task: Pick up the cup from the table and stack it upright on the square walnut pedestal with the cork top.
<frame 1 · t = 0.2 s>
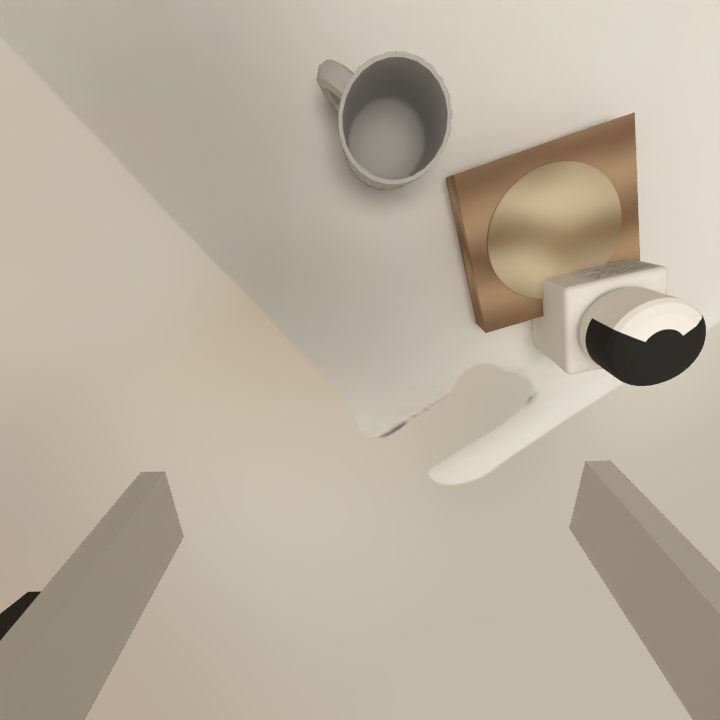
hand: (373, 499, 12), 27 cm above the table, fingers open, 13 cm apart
cup: (373, 132, 32), on the table
pedestal: (537, 232, 34), on the table
container: (568, 301, 37), on the table, touching pedestal
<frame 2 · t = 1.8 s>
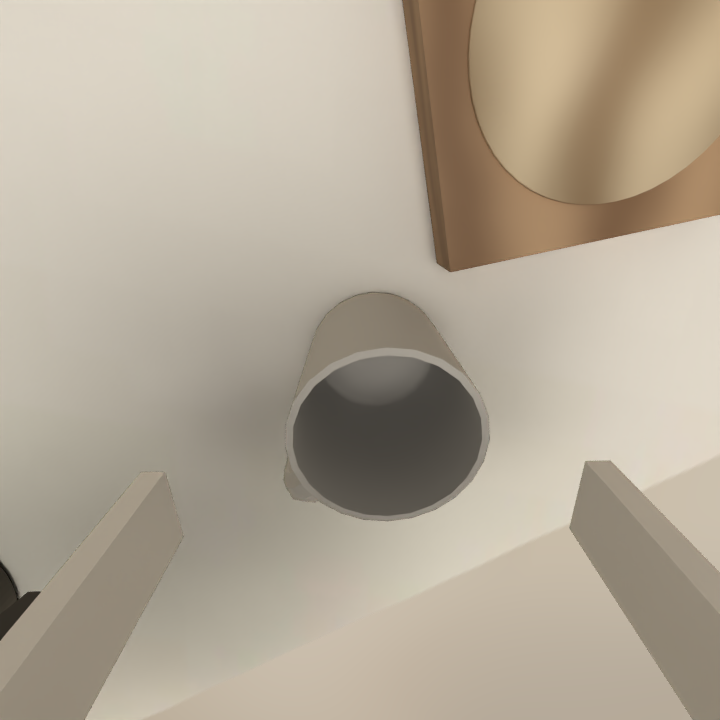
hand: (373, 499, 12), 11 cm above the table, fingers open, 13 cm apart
cup: (358, 367, 22), on the table
pedestal: (573, 70, 16), on the table
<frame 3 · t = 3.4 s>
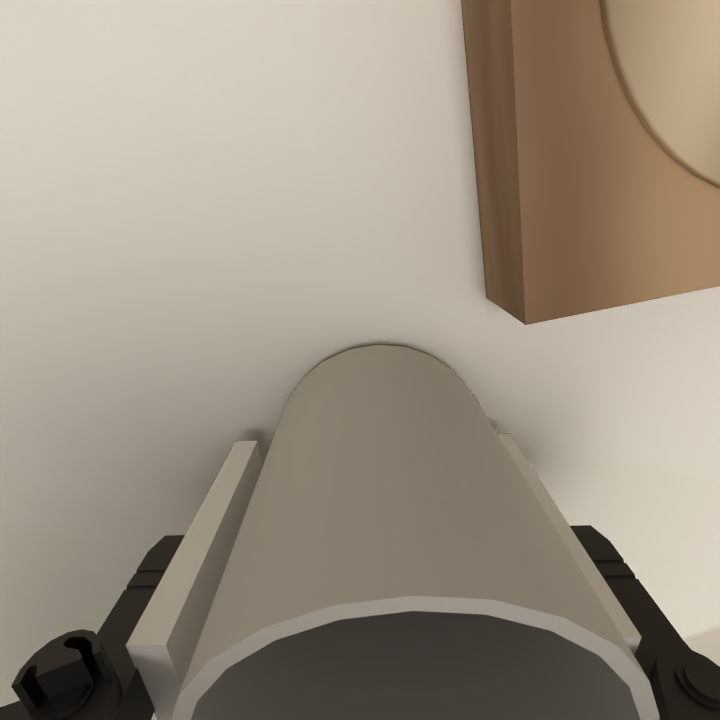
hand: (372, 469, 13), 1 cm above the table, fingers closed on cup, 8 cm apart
cup: (354, 450, 14), on the table, touching gripper
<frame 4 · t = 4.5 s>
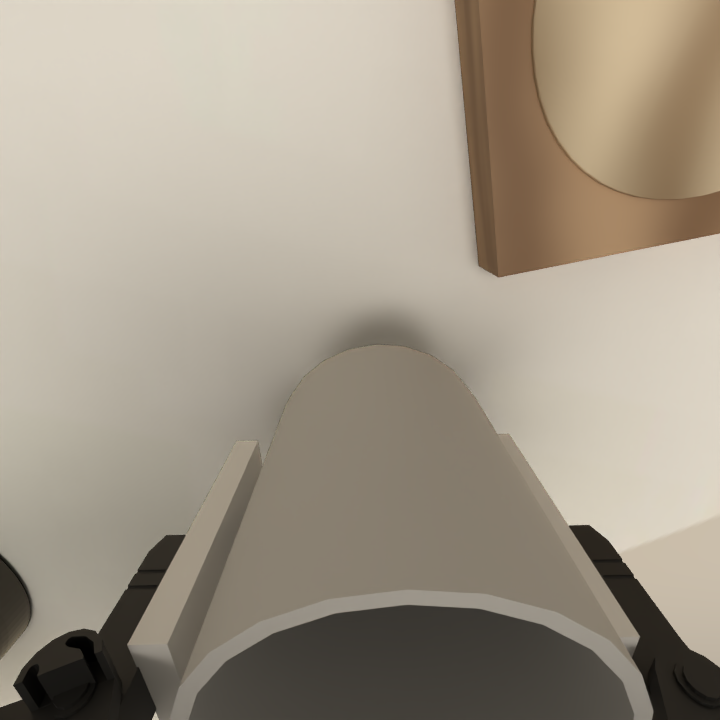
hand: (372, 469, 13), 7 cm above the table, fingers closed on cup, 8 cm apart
cup: (355, 449, 15), point 6 cm above the table, touching gripper
pedestal: (650, 41, 14), on the table
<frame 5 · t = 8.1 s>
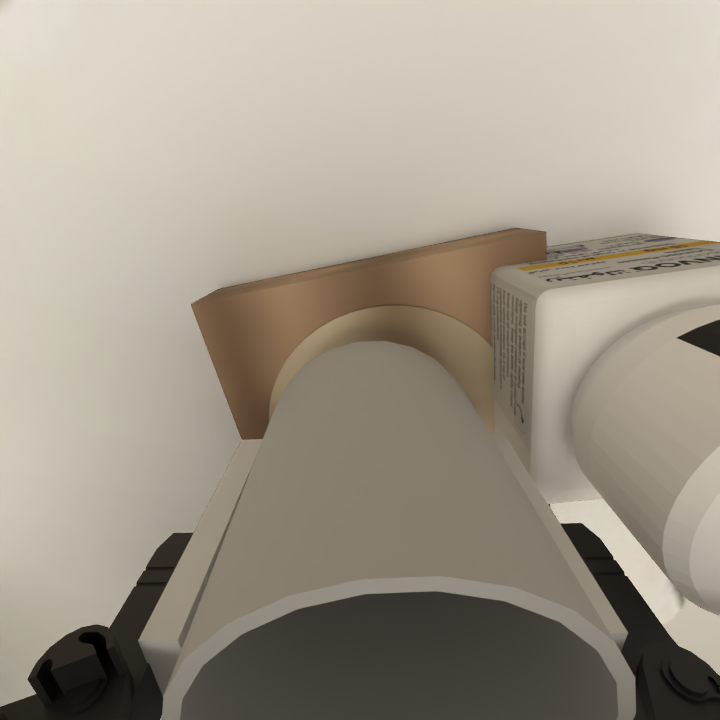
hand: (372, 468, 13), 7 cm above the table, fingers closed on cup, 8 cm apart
cup: (350, 448, 15), point 5 cm above the table, touching gripper
pedestal: (387, 392, 20), on the table
container: (548, 323, 19), on the table, touching pedestal
when the fingers open (6 cm above the table, at t = 9.1 s): cup moves 1 cm, resting on pedestal.
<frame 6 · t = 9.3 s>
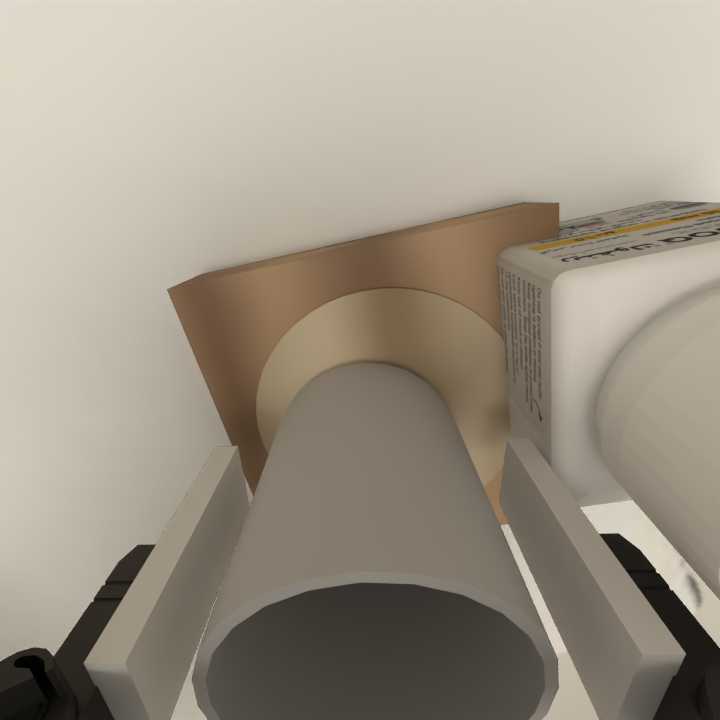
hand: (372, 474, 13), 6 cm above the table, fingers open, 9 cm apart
cup: (385, 455, 16), point 3 cm above the table, touching pedestal
pedestal: (385, 384, 18), on the table
container: (563, 306, 17), on the table, touching pedestal
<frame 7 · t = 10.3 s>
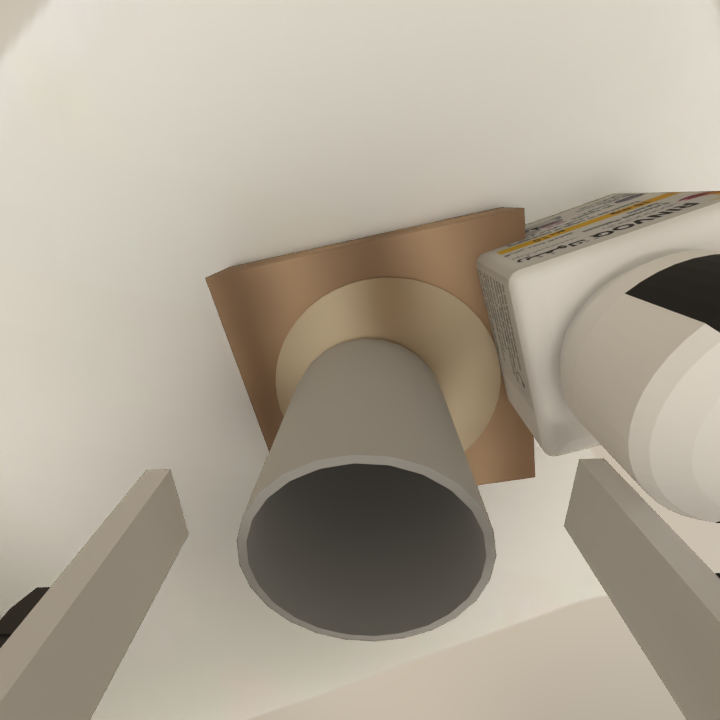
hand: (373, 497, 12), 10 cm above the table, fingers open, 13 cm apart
cup: (383, 420, 19), point 3 cm above the table, touching pedestal
pedestal: (384, 363, 21), on the table
container: (546, 292, 20), on the table, touching pedestal
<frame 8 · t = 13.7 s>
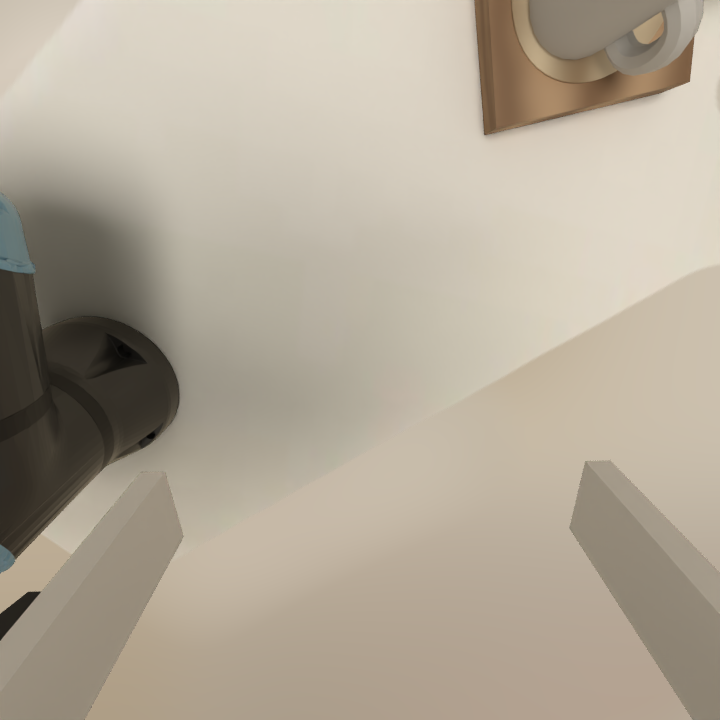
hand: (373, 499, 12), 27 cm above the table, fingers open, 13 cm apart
cup: (586, 20, 26), point 3 cm above the table, touching pedestal
pedestal: (570, 7, 28), on the table
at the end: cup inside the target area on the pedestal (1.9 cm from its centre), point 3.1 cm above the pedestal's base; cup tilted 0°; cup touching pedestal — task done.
